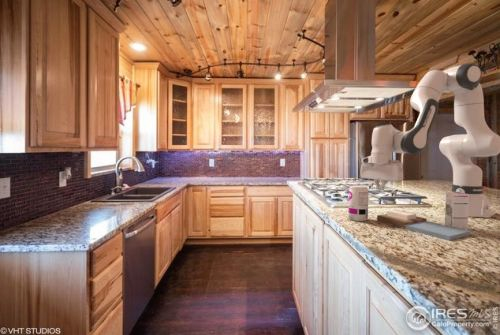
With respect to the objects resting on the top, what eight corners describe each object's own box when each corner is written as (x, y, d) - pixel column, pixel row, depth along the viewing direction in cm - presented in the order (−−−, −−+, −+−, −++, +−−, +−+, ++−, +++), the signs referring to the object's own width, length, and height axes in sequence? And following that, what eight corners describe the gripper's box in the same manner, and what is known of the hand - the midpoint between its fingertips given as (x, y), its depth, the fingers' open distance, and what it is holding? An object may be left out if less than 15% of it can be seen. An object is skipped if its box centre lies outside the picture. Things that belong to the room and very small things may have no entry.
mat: (426, 224, 115) (426, 220, 115) (471, 234, 100) (471, 230, 100) (405, 228, 108) (405, 224, 108) (449, 240, 94) (449, 236, 94)
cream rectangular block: (396, 214, 123) (396, 209, 122) (416, 218, 115) (416, 213, 114) (387, 215, 120) (387, 211, 120) (407, 220, 112) (407, 215, 112)
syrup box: (468, 231, 105) (470, 193, 104) (451, 230, 106) (452, 193, 105) (460, 227, 111) (461, 191, 110) (443, 226, 112) (445, 191, 111)
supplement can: (347, 220, 121) (348, 187, 120) (348, 216, 128) (349, 184, 128) (367, 222, 118) (368, 188, 117) (367, 218, 125) (368, 185, 124)
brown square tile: (397, 217, 126) (397, 212, 126) (426, 224, 115) (426, 218, 115) (376, 221, 120) (377, 215, 120) (405, 228, 108) (405, 222, 108)
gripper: (407, 160, 117) (406, 192, 118) (367, 159, 135) (366, 186, 136) (398, 160, 114) (396, 193, 115) (358, 159, 133) (357, 187, 133)
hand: (380, 189), depth 126 cm, fingers closed
